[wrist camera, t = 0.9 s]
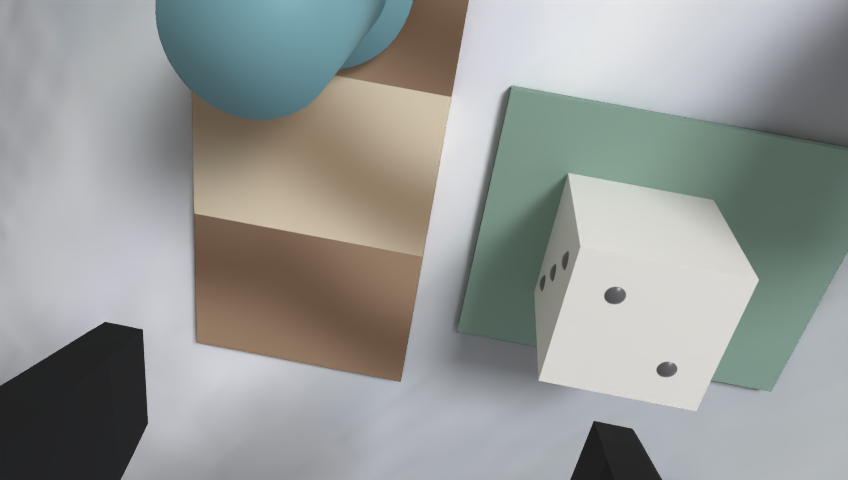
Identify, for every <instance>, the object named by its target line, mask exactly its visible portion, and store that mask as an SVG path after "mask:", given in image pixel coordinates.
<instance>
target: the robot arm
mask: <svg viewBox="0 0 848 480" xmlns="http://www.w3.org/2000/svg"><path fill="white" fill-rule="evenodd" d="M147 424H148V416H147V398H146V380H145V362H144V344H143V330H142V329H137V328H133V327H128V326H123V325H118V324H113V323H108V322H104V323H103V324H101V325H99V326H97V327H96V328H94V329H92V330H91V331H89V332H87V333H86V334H84V335H82V336H81V337H79V338H78V339H76V340H74V341H73V342H71V343H70V344H68V345H66V346H65V347H63V348H62V349H60V350H58V351H57V352H55V353H53V354H52V355H50V356H49V357H47V358H45V359H44V360H42V361H40V362H39V363H37V364H36V365H34V366H32V367H31V368H29V369H27V370H26V371H24V372H23V373H21V374H19V375H18V376H16V377H14V378H13V379H11V380H9V381H8V382H6V383H4V384H3V385H1V386H0V480H121V478H122V476H123V474H124V472H125V470H126V468H127V466H128V464H129V462H130V460H131V458H132V456H133V454H134V452H135V449H136V447H137V445H138V443H139V441H140V439H141V437H142V435H143V433H144V430H145V428H146V426H147ZM571 480H662V479H661V477H660V475H659V474H658V472H657V470H656V468H655V467H654V465H653V463H652V461H651V460H650V458H649V456H648V454H647V452H646V451H645V449H644V447H643V445H642V444H641V442H640V440H639V438H638V437H637V435H636V433H635V432H634V430H633V429H631V428H626V427H621V426H616V425H611V424H606V423H601V422H596V421H594V422H593V424H592V427H591V429H590V432H589V435H588V437H587V440H586V442H585V445H584V447H583V450H582V452H581V455H580V457H579V460H578V462H577V465H576V467H575V470H574V472H573V475H572V477H571Z"/></svg>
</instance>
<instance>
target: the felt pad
mask: <svg viewBox="0 0 848 480" xmlns="http://www.w3.org/2000/svg"><path fill="white" fill-rule="evenodd" d="M568 173H571V174H577V175H582V176H588V177H593V178H598V179H604V180H609V181H614V182H620V183H625V184H631V185H636V186H641V187H647V188H652V189H657V190H663V191H668V192H674V193H679V194H684V195H690V196H695V197H700V198H706V199H711V200H714V201H715V203H716V205H717V207H718V208H719V210H720V212H721V214H722V215H723V217H724V219H725V221H726V223H727V224H728V226H729V228H730V230H731V231H732V233H733V235H734V237H735V238H736V240H737V242H738V244H739V245H740V247H741V249H742V251H743V253H744V254H745V256H746V258H747V260H748V261H749V263H750V265H751V267H752V268H753V270H754V272H755V274H756V275H757V277H758V279H759V281H758V283H757V285H756V287H755V289H754V291H753V293H752V296H751V298H750V300H749V302H748V304H747V306H746V308H745V310H744V312H743V314H742V316H741V318H740V321H739V323H738V325H737V327H736V329H735V331H734V333H733V335H732V337H731V339H730V341H729V343H728V346H727V348H726V350H725V352H724V354H723V356H722V358H721V360H720V362H719V364H718V366H717V368H716V371H715V373H714V375H713V377H712V379H711V380H712V381H718V382H723V383H728V384H733V385H738V386H744V387H749V388H754V389H759V390H765V391H770V392H771V391H772V389H773V387H774V385H775V384H776V382H777V380H778V378H779V376H780V374H781V372H782V371H783V369H784V367H785V365H786V363H787V361H788V360H789V358H790V356H791V354H792V352H793V350H794V349H795V347H796V345H797V343H798V341H799V339H800V338H801V336H802V334H803V332H804V330H805V328H806V327H807V325H808V323H809V321H810V319H811V317H812V316H813V314H814V312H815V310H816V308H817V306H818V305H819V303H820V301H821V299H822V297H823V295H824V294H825V292H826V290H827V288H828V286H829V284H830V283H831V281H832V279H833V277H834V275H835V273H836V271H837V270H838V268H839V266H840V264H841V262H842V260H843V259H844V257H845V255H846V253H847V251H848V147H843V146H838V145H832V144H827V143H821V142H816V141H811V140H805V139H800V138H794V137H789V136H783V135H778V134H772V133H767V132H762V131H756V130H751V129H745V128H740V127H734V126H729V125H723V124H718V123H713V122H707V121H702V120H696V119H691V118H685V117H680V116H674V115H669V114H664V113H658V112H653V111H647V110H642V109H636V108H631V107H626V106H620V105H615V104H609V103H604V102H598V101H593V100H587V99H582V98H577V97H571V96H566V95H560V94H555V93H549V92H544V91H538V90H533V89H528V88H522V87H517V86H511V90H510V95H509V99H508V104H507V108H506V113H505V117H504V122H503V126H502V131H501V135H500V140H499V144H498V149H497V153H496V158H495V162H494V167H493V171H492V176H491V180H490V185H489V189H488V194H487V198H486V203H485V207H484V212H483V216H482V221H481V225H480V230H479V234H478V239H477V243H476V248H475V252H474V257H473V261H472V266H471V270H470V275H469V279H468V284H467V288H466V293H465V297H464V302H463V306H462V311H461V315H460V320H459V324H458V332H462V333H467V334H472V335H477V336H483V337H488V338H493V339H498V340H503V341H509V342H514V343H519V344H524V345H530V346H535V347H537V338H536V317H535V296H534V292H535V288H536V284H537V281H538V277H539V274H540V270H541V267H542V263H543V260H544V256H545V253H546V249H547V246H548V242H549V239H550V235H551V232H552V228H553V225H554V221H555V217H556V214H557V210H558V207H559V203H560V200H561V196H562V193H563V189H564V186H565V182H566V179H567V175H568Z"/></svg>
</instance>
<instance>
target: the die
mask: <svg viewBox="0 0 848 480" xmlns="http://www.w3.org/2000/svg"><path fill="white" fill-rule="evenodd" d="M758 281H759V279H758V277H757V275H756V274H755V272H754V270H753V268H752V267H751V265H750V263H749V261H748V260H747V258H746V256H745V254H744V253H743V251H742V249H741V247H740V245H739V244H738V242H737V240H736V238H735V237H734V235H733V233H732V231H731V230H730V228H729V226H728V224H727V223H726V221H725V219H724V217H723V215H722V214H721V212H720V210H719V208H718V207H717V205H716V203H715V201H714V200H711V199H706V198H700V197H695V196H690V195H684V194H679V193H674V192H668V191H663V190H657V189H652V188H647V187H641V186H636V185H631V184H625V183H620V182H614V181H609V180H604V179H598V178H593V177H588V176H582V175H577V174H571V173H568V175H567V179H566V182H565V186H564V189H563V193H562V196H561V200H560V203H559V207H558V210H557V214H556V217H555V221H554V225H553V228H552V232H551V235H550V239H549V242H548V246H547V249H546V253H545V256H544V260H543V263H542V267H541V270H540V274H539V277H538V281H537V284H536V288H535V292H534V296H535V317H536V338H537V359H538V380H539V381H542V382H547V383H552V384H558V385H563V386H568V387H573V388H578V389H584V390H589V391H594V392H599V393H604V394H610V395H615V396H620V397H625V398H630V399H636V400H641V401H646V402H651V403H656V404H661V405H667V406H672V407H677V408H682V409H687V410H693V411H696V410H697V408H698V406H699V404H700V402H701V400H702V398H703V396H704V393H705V391H706V389H707V387H708V385H709V383H710V381H711V379H712V377H713V375H714V373H715V371H716V368H717V366H718V364H719V362H720V360H721V358H722V356H723V354H724V352H725V350H726V348H727V346H728V343H729V341H730V339H731V337H732V335H733V333H734V331H735V329H736V327H737V325H738V323H739V321H740V318H741V316H742V314H743V312H744V310H745V308H746V306H747V304H748V302H749V300H750V298H751V296H752V293H753V291H754V289H755V287H756V285H757V283H758Z"/></svg>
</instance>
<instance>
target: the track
mask: <svg viewBox="0 0 848 480" xmlns="http://www.w3.org/2000/svg"><path fill="white" fill-rule="evenodd" d="M468 1H469V0H414V3H413V5H412V8H411V11H410V14H409V16H408V18H407V20H406V22H405V24H404V25H403V27H402V29H401V30H400V32H399V33H398V35H397V36H396V38H395V39H394V40H393V41H392V42H391V43H390V45H389V46H388V47H387V48H385V49H384V50H383V51H382V52H381V53H380V54H378V55H377V56H375V57H373V58H372V59H370V60H368V61H366V62H364V63H362V64H360V65H356V66H353V67H349V68H343V69H339V70H338V71H337V73H336V74H335V75H334V77H333V78H332V79H331V81H330V82H329V83H328V84H327V86H326V87H325V88H324V90H323V91H322V92H321V93H320V94H319V95H318V96H317V98H316V99H315V100H313V101H312V102H311V103H310V104H309V105H307V106H306V107H304V108H303V109H301V110H299V111H298V112H295V113H293V114H291V115H288V116H285V117H281V118H277V119H270V120H254V119H246V118H241V117H237V116H234V115H231V114H228V113H226V112H223V111H221V110H219V109H217V108H215V107H213V106H212V105H210V104H209V103H207V102H206V101H204V100H203V99H201V98H200V97H199V96H198V95H196V94H195V93H194V92H193V91H192V126H193V176H194V226H195V275H196V325H197V342H198V343H203V344H208V345H213V346H218V347H224V348H229V349H234V350H239V351H244V352H249V353H255V354H260V355H265V356H270V357H275V358H280V359H286V360H291V361H296V362H301V363H306V364H312V365H317V366H322V367H327V368H332V369H337V370H343V371H348V372H353V373H358V374H363V375H368V376H374V377H379V378H384V379H389V380H394V381H399V382H401V377H402V372H403V366H404V360H405V355H406V349H407V343H408V338H409V332H410V327H411V321H412V315H413V310H414V304H415V298H416V293H417V287H418V282H419V276H420V270H421V265H422V259H423V254H424V248H425V242H426V237H427V231H428V225H429V220H430V214H431V209H432V203H433V197H434V192H435V186H436V181H437V175H438V169H439V164H440V158H441V152H442V147H443V141H444V136H445V130H446V124H447V119H448V113H449V108H450V102H451V96H452V91H453V85H454V79H455V74H456V68H457V63H458V57H459V51H460V46H461V40H462V35H463V29H464V23H465V18H466V12H467V6H468Z"/></svg>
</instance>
